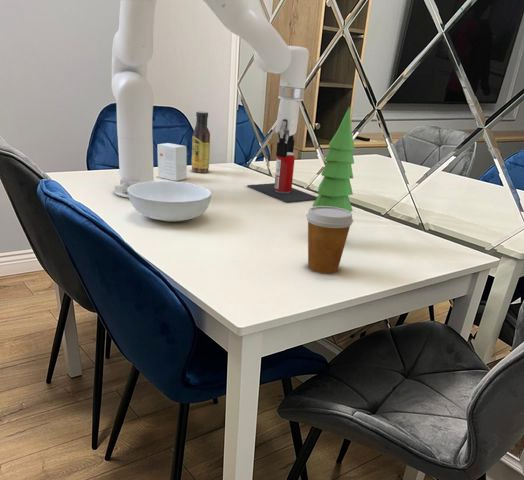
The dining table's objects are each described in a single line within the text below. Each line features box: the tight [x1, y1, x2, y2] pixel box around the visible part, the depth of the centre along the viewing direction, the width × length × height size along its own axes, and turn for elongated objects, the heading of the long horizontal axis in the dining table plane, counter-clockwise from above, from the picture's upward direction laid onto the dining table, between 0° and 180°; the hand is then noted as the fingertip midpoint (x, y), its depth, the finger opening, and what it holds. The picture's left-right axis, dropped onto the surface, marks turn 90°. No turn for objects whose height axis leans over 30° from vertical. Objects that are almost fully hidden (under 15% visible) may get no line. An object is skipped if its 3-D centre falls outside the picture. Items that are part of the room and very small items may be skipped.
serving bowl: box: [128, 180, 212, 223], centre depth 136 cm, size 21×21×7 cm
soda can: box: [274, 152, 295, 193], centre depth 169 cm, size 6×6×12 cm
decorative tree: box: [312, 105, 356, 213], centre depth 123 cm, size 10×9×30 cm
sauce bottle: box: [191, 110, 211, 174], centre depth 187 cm, size 7×6×20 cm
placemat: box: [247, 182, 318, 204], centre depth 172 cm, size 22×13×1 cm, turn 34°
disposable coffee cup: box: [305, 206, 354, 274], centre depth 110 cm, size 10×10×12 cm
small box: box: [156, 142, 188, 182], centre depth 176 cm, size 8×6×10 cm
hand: (284, 154), depth 166 cm, fingers open, 9 cm apart
